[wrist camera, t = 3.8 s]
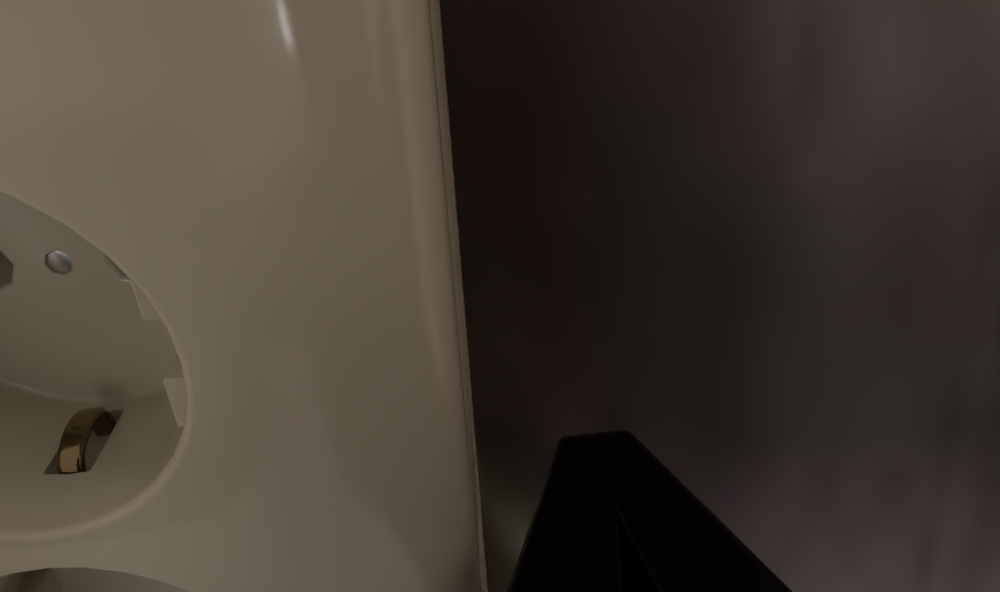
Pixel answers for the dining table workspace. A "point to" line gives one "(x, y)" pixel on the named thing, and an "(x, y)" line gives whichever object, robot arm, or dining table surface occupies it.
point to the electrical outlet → (232, 301)
